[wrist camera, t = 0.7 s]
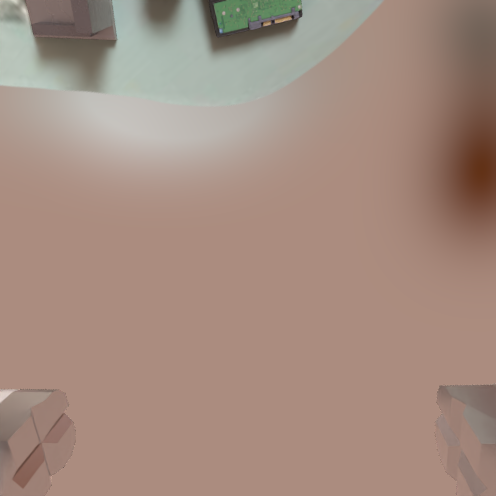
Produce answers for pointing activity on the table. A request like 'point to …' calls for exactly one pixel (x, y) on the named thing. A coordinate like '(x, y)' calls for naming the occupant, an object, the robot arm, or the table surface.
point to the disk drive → (251, 14)
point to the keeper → (72, 19)
